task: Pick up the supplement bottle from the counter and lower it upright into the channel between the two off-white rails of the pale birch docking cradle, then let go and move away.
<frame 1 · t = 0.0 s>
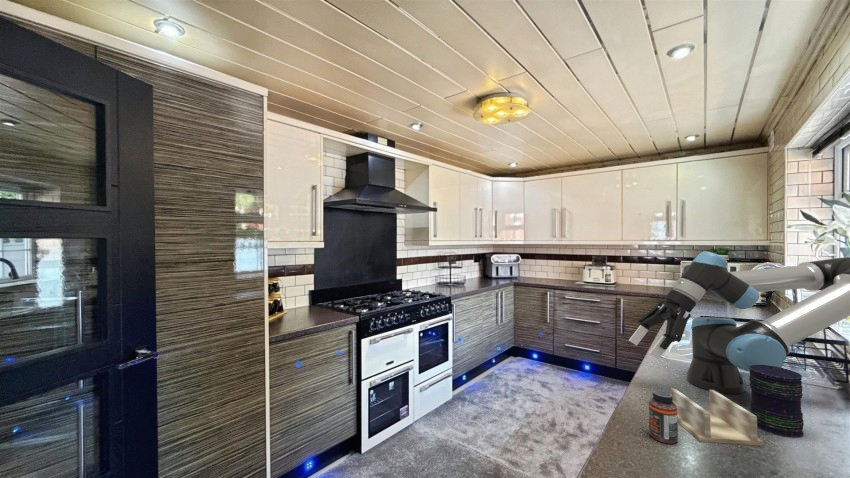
hand: (642, 349, 108), 15 cm above the counter, tool tilted 35°, fingers open, 13 cm apart
supplement bottle: (663, 438, 85), on the counter
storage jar: (776, 428, 90), on the counter
docking cradle: (710, 427, 90), on the counter
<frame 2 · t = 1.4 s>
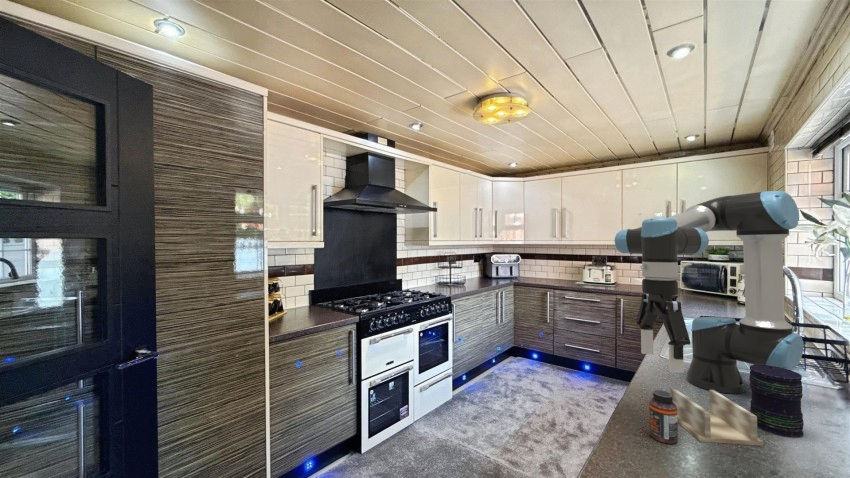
hand: (660, 362, 86), 19 cm above the counter, tool pointing down, fingers open, 13 cm apart
nothing on the counter moved.
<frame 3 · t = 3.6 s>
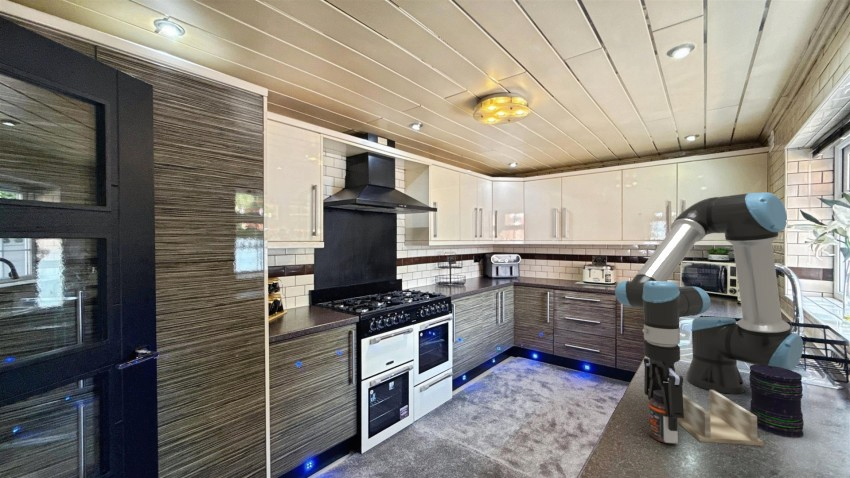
hand: (663, 434, 85), 1 cm above the counter, tool pointing down, fingers closed on supplement bottle, 6 cm apart
supplement bottle: (663, 438, 85), on the counter, touching gripper
everything else where it was.
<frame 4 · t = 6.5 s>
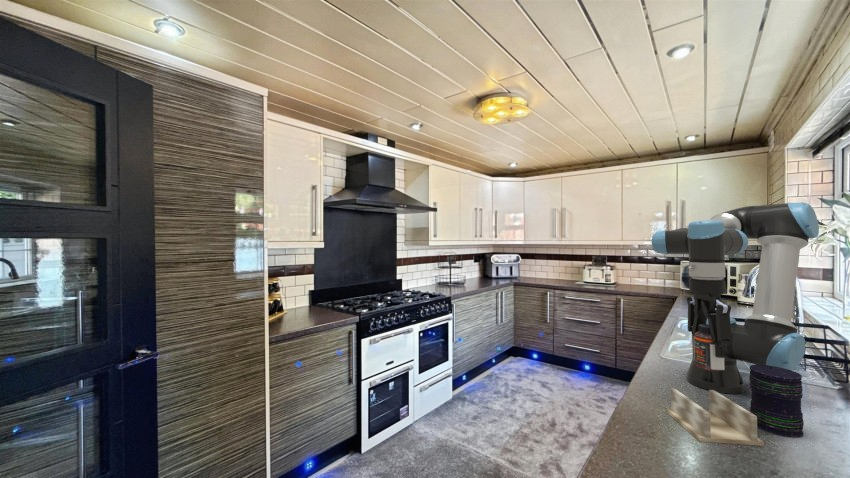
hand: (708, 364, 90), 17 cm above the counter, tool pointing down, fingers closed on supplement bottle, 6 cm apart
supplement bottle: (708, 368, 90), point 16 cm above the counter, touching gripper
everything else where it was.
when the fingers open (4 cm above the counter, at t = 9.2 s): supplement bottle drops 2 cm, resting on docking cradle.
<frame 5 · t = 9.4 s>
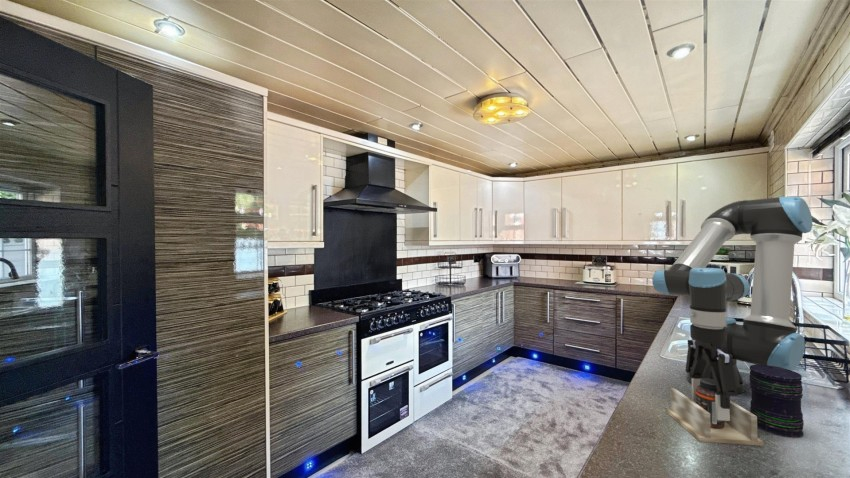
hand: (709, 410, 90), 4 cm above the counter, tool pointing down, fingers open, 9 cm apart
supplement bottle: (710, 423, 90), point 1 cm above the counter, touching docking cradle
everything else where it was.
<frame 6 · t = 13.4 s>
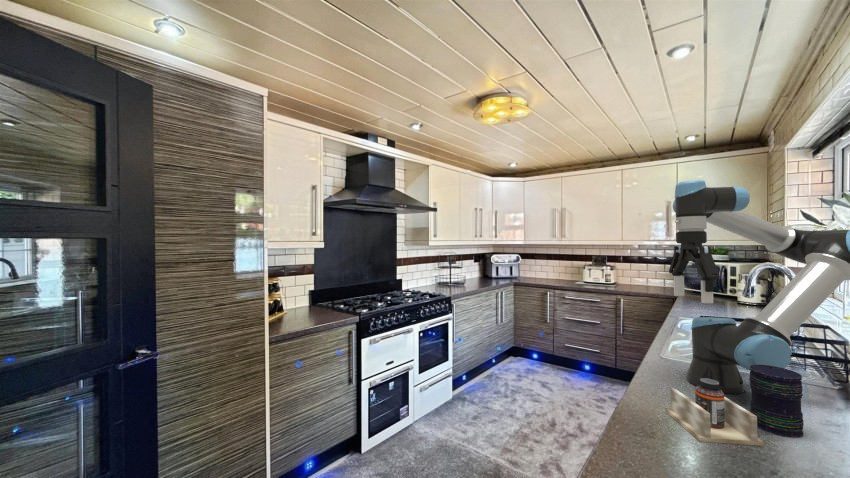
hand: (692, 299, 105), 32 cm above the counter, tool pointing down, fingers open, 13 cm apart
nothing on the counter moved.
at the end: supplement bottle 0.0 cm off-centre on the docking cradle, point 0.8 cm above the docking cradle's base; supplement bottle tilted 0°; the gripper is holding nothing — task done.
